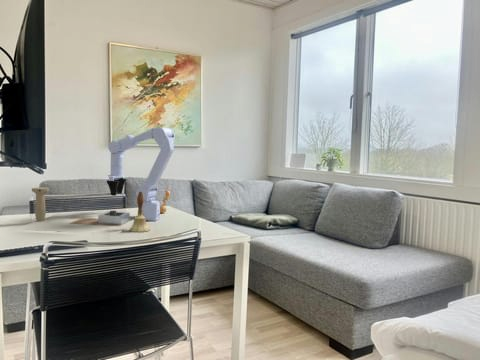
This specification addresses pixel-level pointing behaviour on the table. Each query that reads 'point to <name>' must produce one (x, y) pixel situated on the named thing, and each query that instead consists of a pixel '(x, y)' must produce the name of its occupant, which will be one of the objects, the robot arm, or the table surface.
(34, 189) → the handle
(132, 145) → the robot arm
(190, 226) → the table surface
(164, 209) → the figurine
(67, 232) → the table surface
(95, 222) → the brown board
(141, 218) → the hand bell
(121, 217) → the grey square frame
